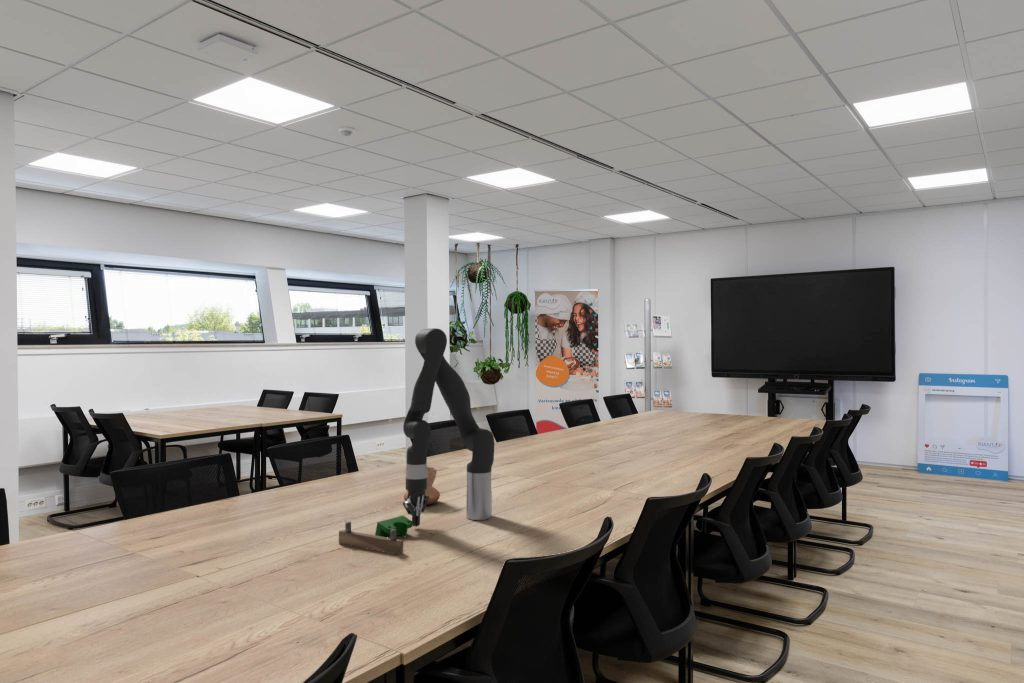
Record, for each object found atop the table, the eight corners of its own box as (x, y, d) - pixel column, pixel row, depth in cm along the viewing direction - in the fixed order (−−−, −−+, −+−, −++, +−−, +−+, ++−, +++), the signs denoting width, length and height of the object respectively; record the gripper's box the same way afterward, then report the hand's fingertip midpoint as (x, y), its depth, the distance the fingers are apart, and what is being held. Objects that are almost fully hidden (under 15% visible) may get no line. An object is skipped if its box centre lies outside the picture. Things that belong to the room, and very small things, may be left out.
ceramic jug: (419, 497, 272) (418, 463, 272) (448, 500, 266) (447, 466, 266) (393, 507, 256) (392, 471, 256) (423, 511, 250) (423, 474, 250)
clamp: (388, 554, 212) (384, 533, 208) (377, 546, 215) (373, 525, 211) (416, 533, 219) (412, 512, 215) (405, 525, 223) (401, 505, 219)
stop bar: (343, 542, 210) (343, 520, 210) (403, 553, 199) (403, 530, 199) (338, 543, 208) (338, 522, 208) (399, 555, 197) (399, 532, 197)
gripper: (414, 480, 218) (413, 531, 218) (435, 473, 230) (435, 522, 230) (396, 478, 222) (395, 528, 221) (418, 471, 233) (418, 519, 233)
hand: (416, 525), depth 226 cm, fingers closed
